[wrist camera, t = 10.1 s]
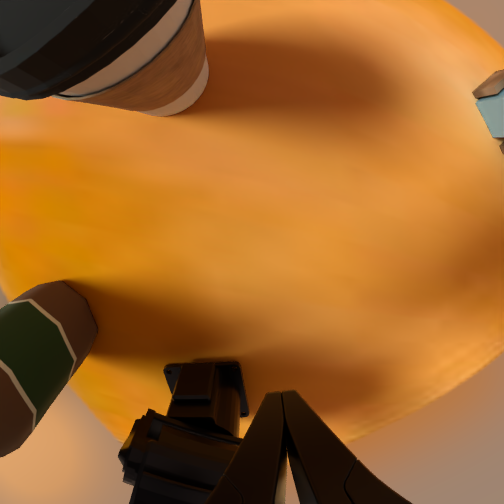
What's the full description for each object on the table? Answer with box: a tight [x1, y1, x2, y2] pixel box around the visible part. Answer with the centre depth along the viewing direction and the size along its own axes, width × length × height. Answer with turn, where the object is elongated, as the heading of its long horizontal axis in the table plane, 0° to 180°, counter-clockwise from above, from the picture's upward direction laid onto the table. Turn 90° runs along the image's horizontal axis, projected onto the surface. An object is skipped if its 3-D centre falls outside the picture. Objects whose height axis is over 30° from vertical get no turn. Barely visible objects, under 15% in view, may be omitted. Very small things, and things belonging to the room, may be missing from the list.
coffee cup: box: [0, 0, 209, 116], centre depth 10 cm, size 8×8×15 cm
